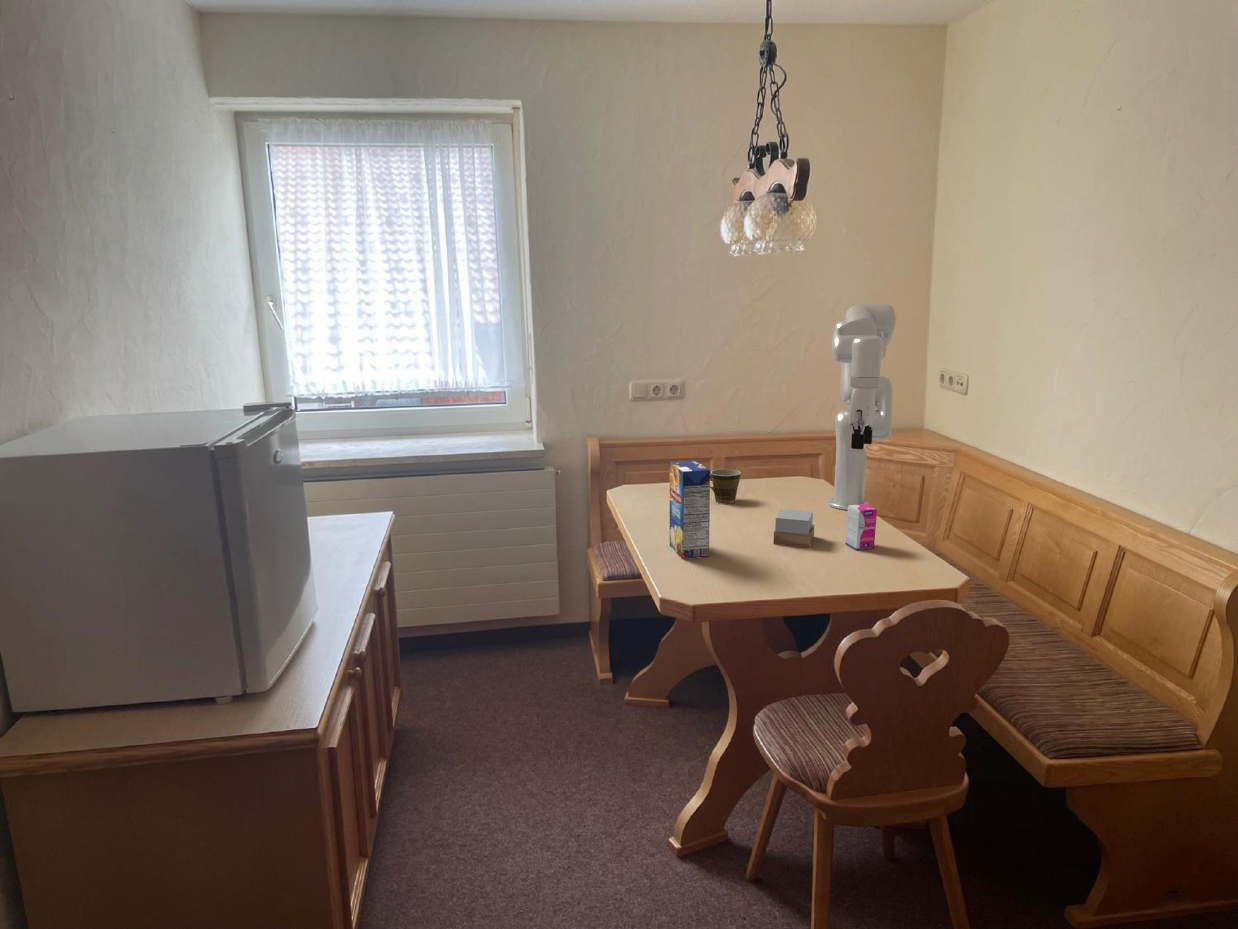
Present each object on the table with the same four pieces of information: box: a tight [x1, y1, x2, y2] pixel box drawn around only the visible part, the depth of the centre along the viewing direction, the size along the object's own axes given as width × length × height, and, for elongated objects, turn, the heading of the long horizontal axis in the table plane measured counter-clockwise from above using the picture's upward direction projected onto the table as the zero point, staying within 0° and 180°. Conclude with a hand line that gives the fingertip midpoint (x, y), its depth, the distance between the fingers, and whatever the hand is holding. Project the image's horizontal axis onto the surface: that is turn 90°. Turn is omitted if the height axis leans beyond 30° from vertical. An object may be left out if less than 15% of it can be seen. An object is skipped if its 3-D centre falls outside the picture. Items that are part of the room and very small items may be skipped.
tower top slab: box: [774, 508, 814, 535], centre depth 225 cm, size 9×9×4 cm
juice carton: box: [669, 460, 711, 560], centre depth 216 cm, size 12×8×24 cm, turn 13°
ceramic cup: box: [710, 468, 742, 504], centre depth 267 cm, size 13×10×10 cm
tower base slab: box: [773, 524, 815, 548], centre depth 226 cm, size 10×10×4 cm
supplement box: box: [845, 504, 878, 551], centre depth 219 cm, size 6×6×12 cm
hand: (861, 446), depth 217 cm, fingers open, 9 cm apart
